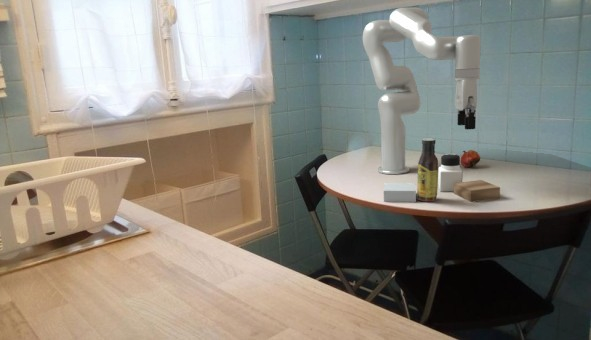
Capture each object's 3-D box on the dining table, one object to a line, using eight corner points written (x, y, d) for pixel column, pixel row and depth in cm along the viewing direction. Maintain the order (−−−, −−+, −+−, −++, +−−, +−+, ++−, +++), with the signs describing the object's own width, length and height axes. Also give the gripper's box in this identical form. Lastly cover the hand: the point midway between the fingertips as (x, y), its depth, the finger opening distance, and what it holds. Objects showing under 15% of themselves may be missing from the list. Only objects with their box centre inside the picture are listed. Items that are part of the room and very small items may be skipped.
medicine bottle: (462, 191, 159) (463, 156, 156) (440, 191, 160) (440, 157, 158) (459, 186, 166) (460, 152, 163) (438, 186, 167) (438, 152, 164)
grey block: (384, 194, 163) (384, 182, 162) (414, 194, 160) (414, 182, 159) (383, 202, 153) (383, 190, 152) (415, 203, 151) (415, 190, 150)
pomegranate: (482, 172, 191) (471, 154, 197) (487, 161, 186) (475, 142, 192) (465, 176, 190) (454, 158, 196) (470, 164, 185) (458, 146, 191)
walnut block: (453, 194, 157) (454, 183, 156) (481, 191, 159) (481, 180, 158) (470, 203, 148) (471, 190, 147) (499, 199, 150) (500, 187, 149)
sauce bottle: (414, 197, 155) (414, 137, 151) (433, 196, 156) (433, 136, 151) (421, 203, 149) (421, 141, 144) (440, 201, 149) (441, 139, 145)
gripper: (449, 74, 162) (448, 124, 166) (461, 76, 146) (460, 131, 149) (472, 73, 162) (470, 123, 165) (487, 74, 145) (485, 130, 148)
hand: (466, 127), depth 157 cm, fingers open, 9 cm apart
